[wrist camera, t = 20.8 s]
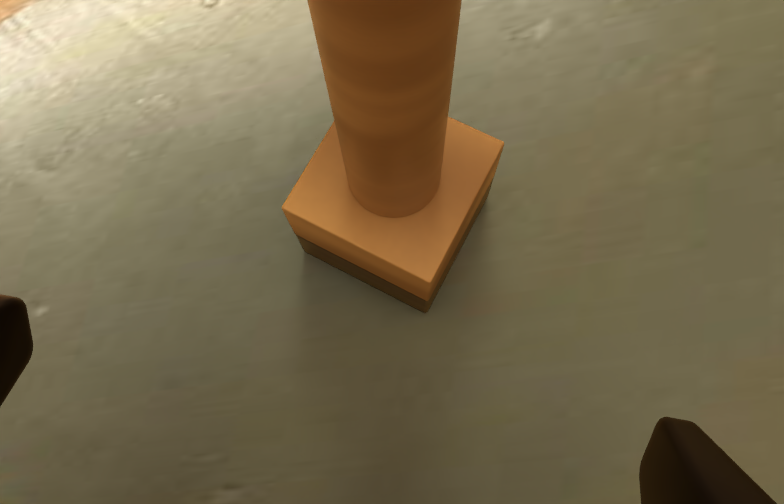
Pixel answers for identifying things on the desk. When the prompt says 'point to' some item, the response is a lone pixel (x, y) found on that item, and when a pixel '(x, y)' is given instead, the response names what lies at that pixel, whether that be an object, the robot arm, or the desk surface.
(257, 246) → the desk surface
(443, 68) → the brush
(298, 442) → the desk surface
